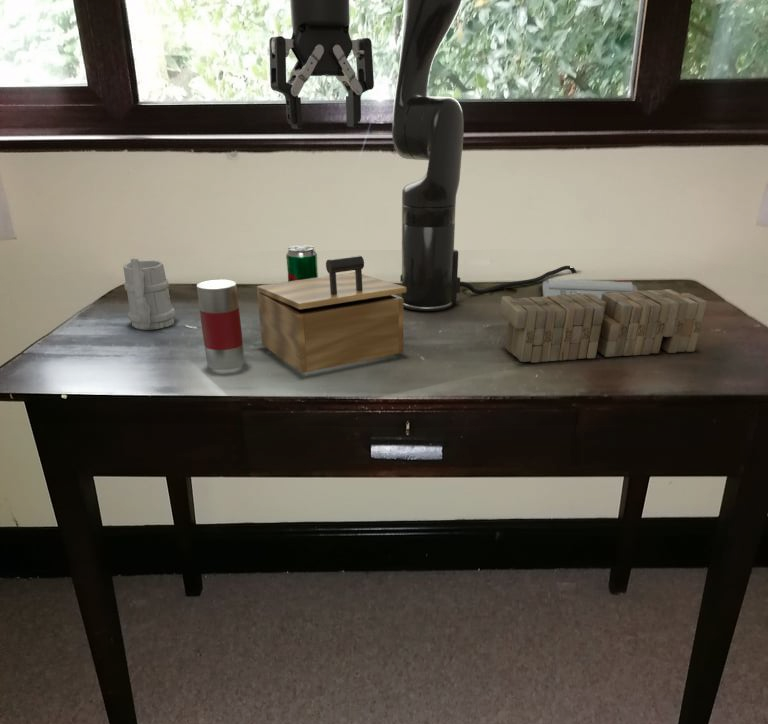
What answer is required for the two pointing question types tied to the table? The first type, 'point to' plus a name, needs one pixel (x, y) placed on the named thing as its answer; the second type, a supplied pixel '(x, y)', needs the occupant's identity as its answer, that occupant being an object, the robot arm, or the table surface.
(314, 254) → the soda can
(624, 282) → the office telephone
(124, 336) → the table surface
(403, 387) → the table surface
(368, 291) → the lid
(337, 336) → the chest
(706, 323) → the table surface
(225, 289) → the can
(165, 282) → the mug
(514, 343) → the block tower
